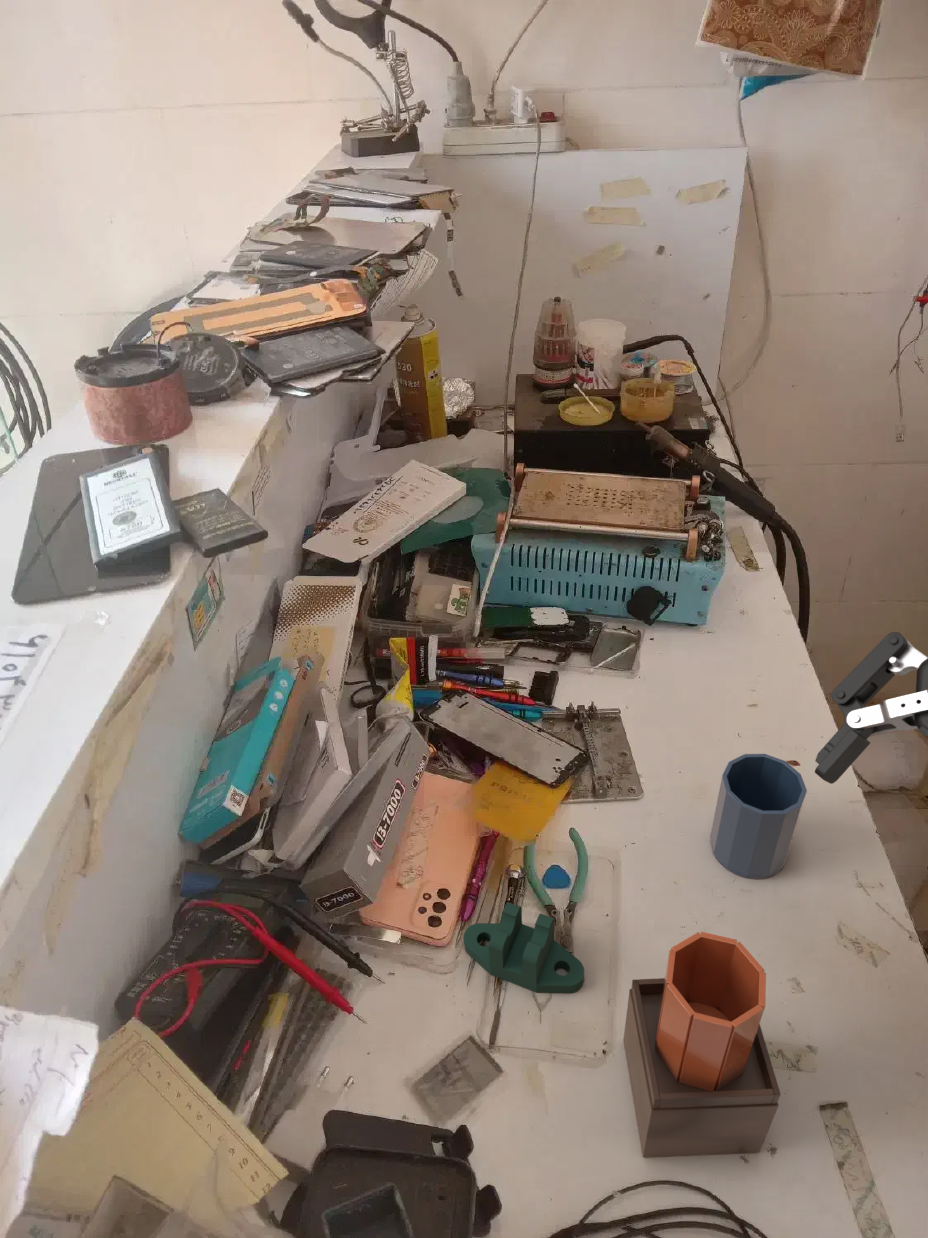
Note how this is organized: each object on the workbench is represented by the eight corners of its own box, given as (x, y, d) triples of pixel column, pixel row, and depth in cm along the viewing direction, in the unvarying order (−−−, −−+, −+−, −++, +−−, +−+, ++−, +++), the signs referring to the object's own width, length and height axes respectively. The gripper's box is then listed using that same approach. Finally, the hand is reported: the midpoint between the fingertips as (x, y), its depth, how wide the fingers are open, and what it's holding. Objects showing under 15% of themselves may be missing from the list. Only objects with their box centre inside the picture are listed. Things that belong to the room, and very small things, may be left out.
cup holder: (728, 1035, 66) (746, 973, 60) (759, 1153, 59) (782, 1096, 53) (623, 1039, 66) (630, 978, 60) (642, 1157, 59) (653, 1101, 54)
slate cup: (802, 859, 78) (823, 793, 72) (746, 891, 76) (762, 826, 70) (750, 808, 83) (765, 743, 77) (695, 837, 81) (707, 772, 75)
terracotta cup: (763, 1060, 57) (786, 994, 51) (694, 1106, 55) (711, 1043, 49) (704, 987, 61) (720, 919, 55) (638, 1027, 59) (648, 960, 53)
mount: (455, 961, 72) (451, 929, 69) (475, 918, 75) (472, 886, 72) (574, 1007, 68) (576, 976, 65) (590, 960, 71) (592, 928, 68)
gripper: (939, 538, 51) (767, 739, 54) (1194, 670, 40) (963, 907, 44) (970, 581, 56) (811, 762, 59) (1203, 708, 45) (995, 918, 49)
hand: (876, 824), depth 51 cm, fingers open, 8 cm apart
